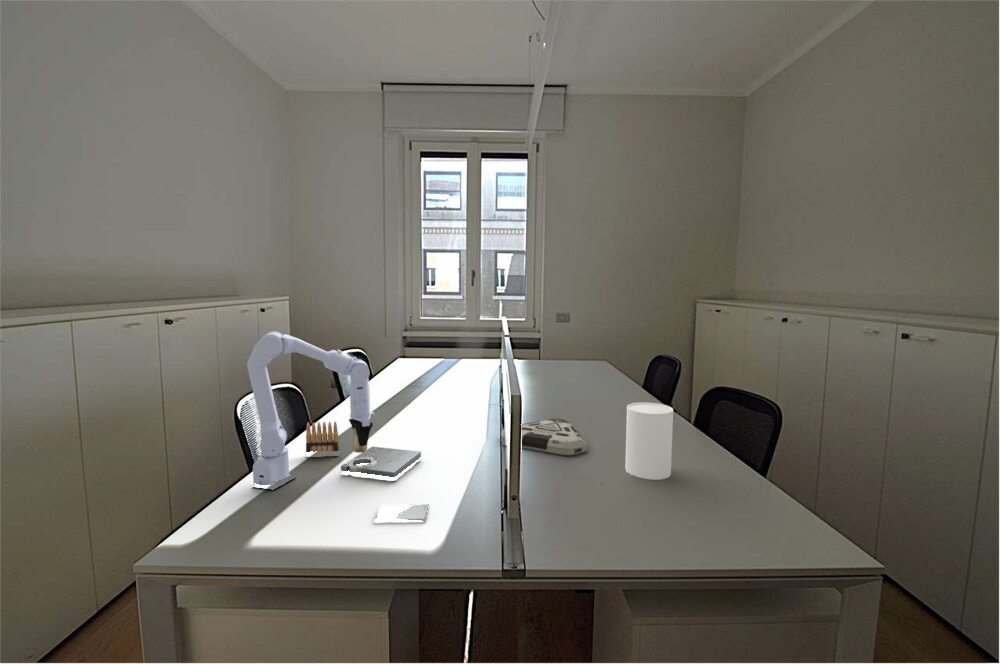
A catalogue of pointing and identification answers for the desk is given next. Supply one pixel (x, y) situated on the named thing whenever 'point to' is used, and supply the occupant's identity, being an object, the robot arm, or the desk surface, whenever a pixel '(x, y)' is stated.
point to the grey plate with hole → (382, 461)
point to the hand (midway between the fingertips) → (361, 443)
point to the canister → (649, 440)
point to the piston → (356, 444)
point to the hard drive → (415, 512)
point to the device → (551, 437)
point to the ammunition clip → (322, 438)
